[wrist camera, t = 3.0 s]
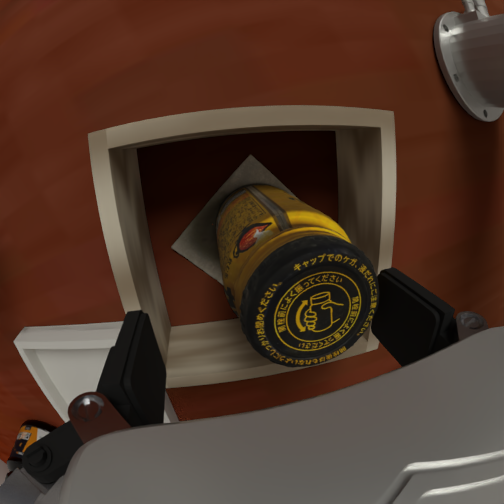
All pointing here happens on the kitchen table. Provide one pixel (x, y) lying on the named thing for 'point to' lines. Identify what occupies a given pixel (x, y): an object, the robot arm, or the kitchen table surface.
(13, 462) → the supplement container
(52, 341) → the tray
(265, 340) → the condiment
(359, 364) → the kitchen table surface
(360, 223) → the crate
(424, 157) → the kitchen table surface
